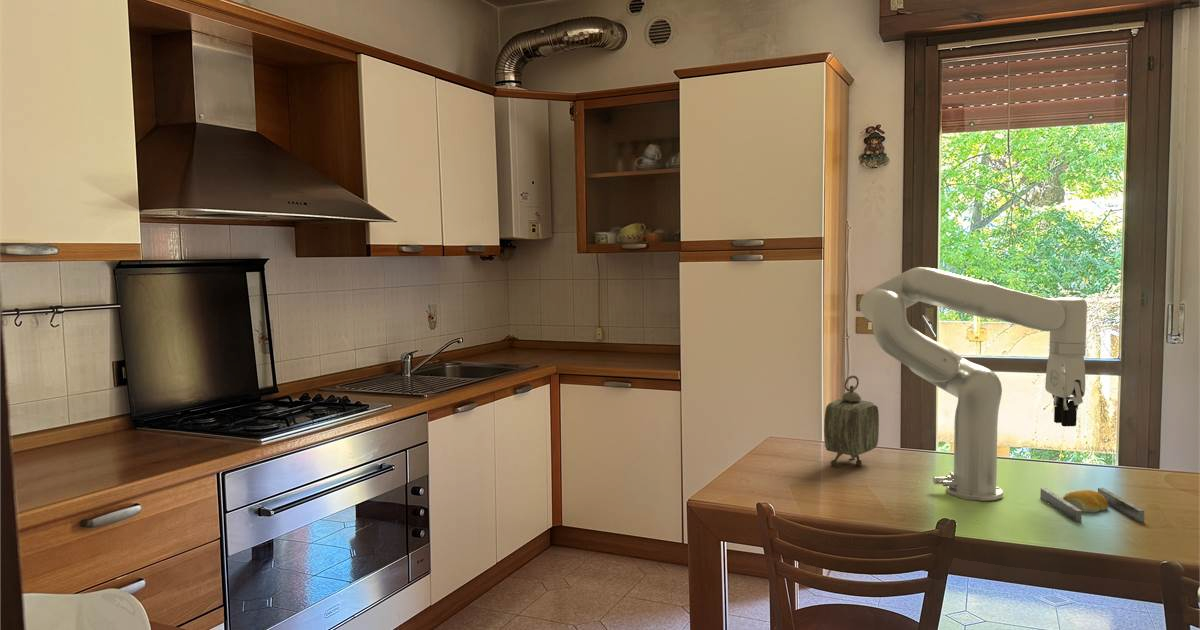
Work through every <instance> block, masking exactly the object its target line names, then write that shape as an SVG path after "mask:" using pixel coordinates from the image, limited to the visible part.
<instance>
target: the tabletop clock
mask: <svg viewBox="0 0 1200 630" xmlns="http://www.w3.org/2000/svg"><path fill="white" fill-rule="evenodd" d="M851 379H855V380H856V384H855V386H853V385H850V386H849V388H848V387H847V384H848V382H849V380H851ZM859 384H860V383H859V378H858V377H857V376H856V375H849V376H848V377H847V378H846V379H845V382H844V389H845V391H847V392H845V393H844V394H843V395H842V398H838V399H836V400H833V401H831V402H829V403H828V404H827V405H826V407H825V412H824V419H823V420H824V422H823V423H824V425H823V432H824V433H823V435H824V436H823V437H824V445H825V447H824V448H825V450H826V451H828V452H832V453H837V454H836V456H835V458H834V459H833V460H831V461H830V466H832V467H836V466H837V461H838V460H839V458H840V457H841V456H842V455H847V456H850V458H852V459H855V458H856V461H855V464H856V466H858V467H859V466H861V465H862V464H863V461H862V460H861V459H860V456H859V455H863V454H865V453H868V452H870V451H872V450H874V449H876V448H877V446H878V443H879V437H880V436H879V433H880V431H879V430H880V429H879V428H880V420H879V419H880V418H879V417H880V416H879V407H878V406H877V405H876V404H874V402H872V401H867V400H862V397H861V395H860V394H859V393H858V392H856V391H855V390H856V389H857V388H858V387H859Z"/></svg>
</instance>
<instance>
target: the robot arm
mask: <svg viewBox="0 0 1200 630" xmlns="http://www.w3.org/2000/svg"><path fill="white" fill-rule="evenodd" d="M918 302H921V303H924V304H928V305H932V306H935V307H940V308H943V309H948V310H952V311H955V312H959V313H963V314H966V315H971V316H975V317H979V318H982V319H991V320H995V321H996V320H998V321H1002V322H1007V323H1011V324H1015V325H1019V326H1021V327H1025V328H1028V329H1032V330H1033V329H1034V330H1037V331H1040V332H1049V344H1048V345H1049V350H1048V351H1049V352H1048V357H1047V364H1046V371H1045V383H1044V384H1045V387H1044V388H1045V391H1046V392H1048V393H1049V394H1051V395H1052V398H1053V408H1054V410H1053V422H1054V423H1055V424H1061V426H1062V427H1077V426H1076V425H1077V414H1078V413H1077V412H1078V409H1079V405H1081V404H1083V402H1084V401H1083V400H1084V399H1083V398H1084V396H1085V393H1086V366H1085V364H1086V363H1085V357H1086V353H1087V352H1086V347H1087V343H1086V342H1087V321H1088V320H1087V318H1088V317H1087V315H1088V313H1087V312H1088V304H1087V303H1088V302H1087V300H1085V299H1084V298H1082V297H1073V296H1071V297H1069V296H1067V297H1065V296H1064V297H1061V296H1060V297H1056V298H1048V297H1047V298H1046V297H1043V296H1038V295H1036V294H1031V293H1027V292H1023V291H1019V290H1015V289H1011V288H1007V287H1004V286H1000V285H999V284H995V283H993V282H988V281H984V280H980V279H978V278H977V279H975V278H973V277H969V276H968V277H967V276H964V275H960V274H956V273H954V272H953V273H952V272H950V271H946V270H942V269H937V268H932V267H923V266H916V267H913V268H910V269H908V270H906V271H904V272H902V273H900V274H899V275H896V276H894V277H891V278H890V279H889V280H886V281H884V282H882V283H880V284H878V285H876V286H874V287H873V288H871V289H869V290H867V291H866V292H865V293H863V295H862V296H861V298H860V301H859V311H860V312H861V314H862V316H863V317H864V318H865V319H866V320H868V321H870V322H872V325H871V326H872V333H873V335H874V339H875V340H876V343H877V344H878V346H879V347H880V349H881V350H882V351H884V352H885V353H886V354H888V355H889V356H891V357H892V358H893V359H895V360H896V361H898V362H900V363H901V364H903V365H905V366H907V367H908V368H909V370H910V371H911V372H912V373H914V374H915V375H916V376H918V377H920V378H922V379H923V380H925V381H927V382H929V383H931V384H932V385H934V386H936V387H937V388H939V389H941V390H943V391H945V392H946V393H948V394H950V395H952V396H954V397H956V398H957V403H956V404H957V405H956V408H955V412H954V413H955V414H954V422H953V423H954V425H953V430H954V435H953V438H954V439H953V441H954V442H953V447H954V448H953V471H949V474H948V475H946V476H933V477H932V481H933V482H932V483H933V485H941V486H942V487H946V491H947V493H949V494H950V495H952V496H954V497H955V498H961V499H965V500H968V501H969V500H971V501H979V502H980V501H981V502H982V501H983V502H986V501H988V502H989V501H997V500H1000V499H1001V498H1003V496H1004V490H1003V489H1002V488H1001V487H999V486H997V471H998V470H997V467H998V466H997V463H998V462H997V461H998V423H999V422H998V421H999V410H1000V404H1001V400H1002V395H1003V394H1002V392H1003V388H1002V382H1001V380H1000V378H999V377H998V375H997V374H996V373H995V372H994V371H993V370H991V369H990V368H989V367H988V368H987V367H985V366H983V365H981V364H978V363H974V362H972V361H970V360H968V359H966V358H964V357H962V356H961V355H959V354H957V353H956V352H955V351H953V350H952V349H951V348H950V347H948V346H947V345H946V344H943V343H941V342H938V341H936V340H934V339H932V338H930V337H928V336H926V335H925V334H923V333H921V332H920V331H918V330H917V329H915V328H913V327H912V326H911V325H910V324H909V321H908V318H907V308H909V307H911V306H913V305H915V304H917V303H918Z"/></svg>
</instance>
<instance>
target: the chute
mask: <svg viewBox="0 0 1200 630" xmlns="http://www.w3.org/2000/svg"><path fill="white" fill-rule="evenodd" d="M1097 492H1098V493H1100V494H1101V495H1103V496H1104V497H1105V499H1106V500H1107V502H1108V506H1110V507H1112V508H1113V509H1115V510H1117V511H1119V512H1121V513H1123V514H1125V515H1126V516H1127V517H1129V518H1131V519H1132V520H1135V521H1136V522H1137V523H1140V522H1141V523H1142V522H1145V510H1144V509H1142V508H1140V507H1139V506H1137V505H1135V504H1133V503H1132V502H1129V501H1128V500H1126V499H1124V498H1122V497H1120V496H1119V495H1117V494H1115V493H1113V492H1112V491H1110V490H1108V489H1106V488H1104V487H1098V488H1097ZM1039 497H1040V500H1042V501H1043V502H1045V503H1046V504H1048V503H1049V504H1048V505H1050V506H1051V507H1053V508H1054V509H1055V510H1057V511H1058V512H1060V513H1062V514H1063V515H1065V516H1066V517H1067V518H1069V519H1071V520H1072V521H1074V522H1075V523H1082V513H1083V512H1082V511H1081V510H1080V509H1078V508H1076V507H1075V506H1073V505H1072V504H1070V503H1069V502H1067V501H1065V500H1064V499H1063V497H1060V496H1059V495H1057V494H1056V493H1054V492H1053V491H1051V490H1050V489H1048V488H1046V487H1041V488H1040V496H1039Z"/></svg>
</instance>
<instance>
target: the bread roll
mask: <svg viewBox="0 0 1200 630" xmlns="http://www.w3.org/2000/svg"><path fill="white" fill-rule="evenodd" d="M1062 499H1064V500H1065V501H1067V502H1069V503H1070V504H1072V505H1073V506H1075V507H1076V508H1078V509H1080V510H1081V511H1082V513H1098V512H1100V511H1105V510H1107V509H1108V507H1109V504H1108V502H1107V500H1106V499H1105V497H1104V496H1103V495H1101V494H1100V493H1098V491H1096V490H1095V491H1094V490H1092V489H1084V490H1075V491H1071V492H1068V493H1066V494H1065V495H1064V496H1063V497H1062Z"/></svg>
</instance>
